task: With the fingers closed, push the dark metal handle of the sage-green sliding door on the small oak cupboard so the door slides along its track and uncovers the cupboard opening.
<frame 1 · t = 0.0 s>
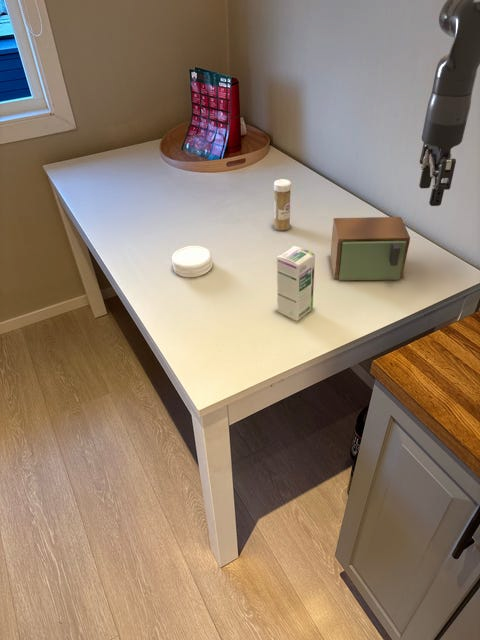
hand: (429, 196, 103), 21 cm above the table, tool pointing down, fingers open, 8 cm apart
white short cylinder: (193, 267, 123), on the table
syrup box: (294, 311, 108), on the table
cupboard: (364, 267, 120), on the table
sliding door: (372, 263, 111), point 6 cm above the table, slide at 0.0 cm
sprinkles bottle: (282, 227, 137), on the table
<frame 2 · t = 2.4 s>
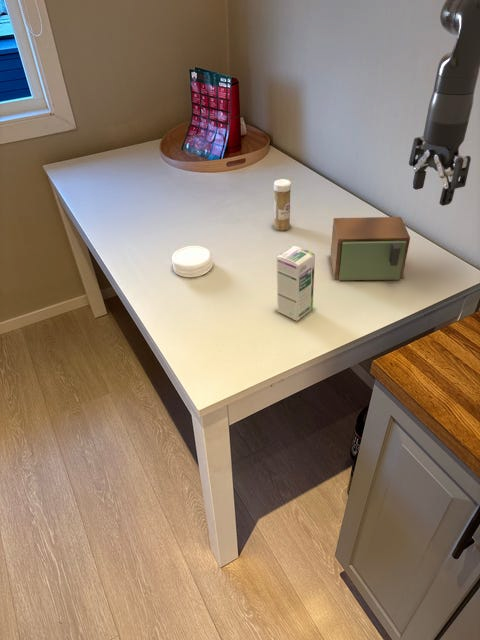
hand: (430, 196, 101), 21 cm above the table, tool pointing down, fingers open, 8 cm apart
nothing on the table moved.
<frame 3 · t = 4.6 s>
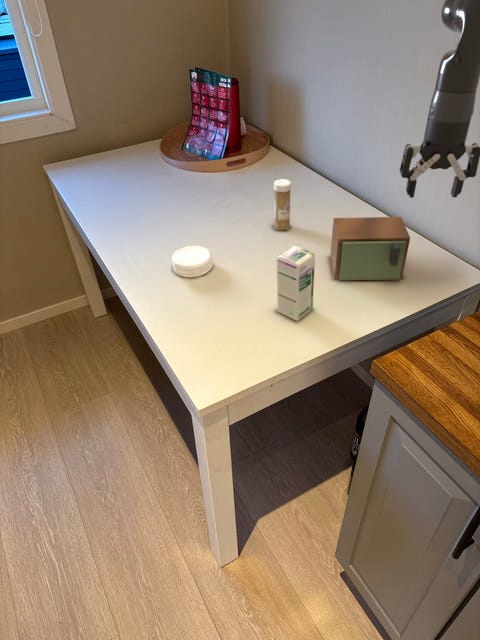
hand: (431, 196, 100), 22 cm above the table, tool pointing down, fingers open, 8 cm apart
nothing on the table moved.
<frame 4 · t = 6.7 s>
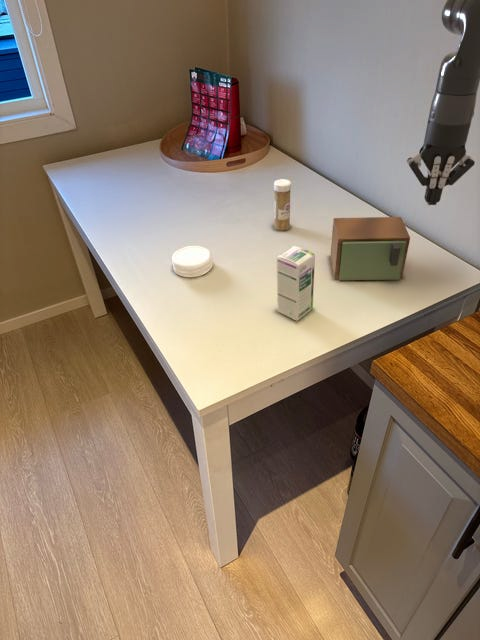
hand: (431, 203, 100), 20 cm above the table, tool pointing down, fingers closed
nothing on the table moved.
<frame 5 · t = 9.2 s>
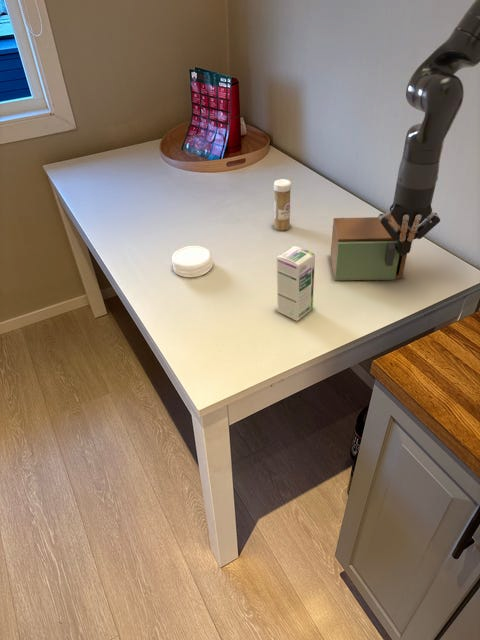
hand: (401, 253, 108), 8 cm above the table, tool pointing down, fingers closed
sliding door: (367, 263, 111), point 6 cm above the table, slide at 1.0 cm
everything else where it was.
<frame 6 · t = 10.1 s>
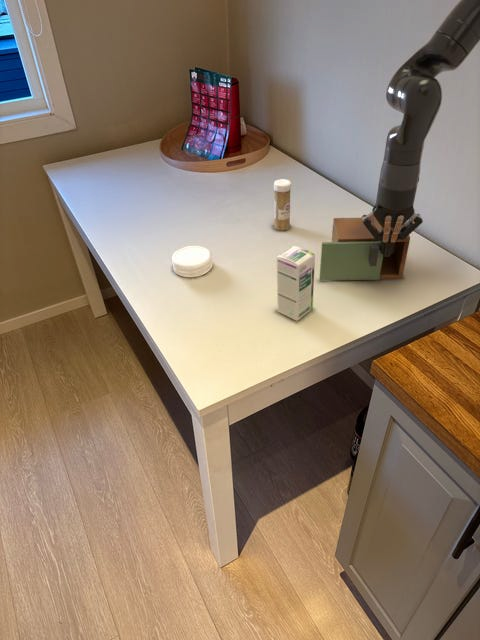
hand: (385, 254, 109), 8 cm above the table, tool pointing down, fingers closed
sliding door: (351, 264, 111), point 6 cm above the table, slide at 4.7 cm, touching gripper
everything else where it was.
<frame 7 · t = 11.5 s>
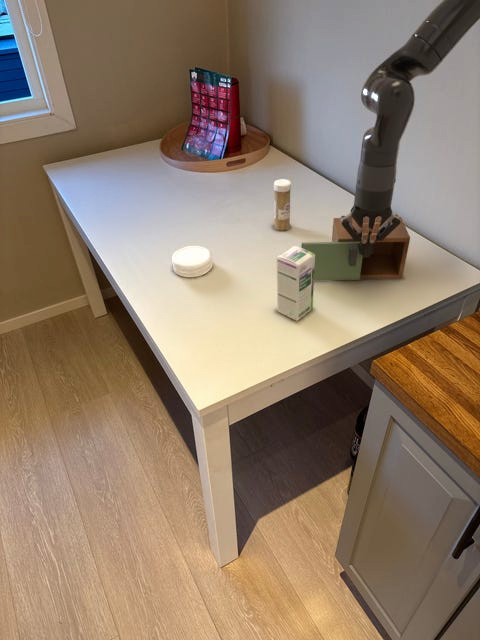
hand: (365, 255, 109), 8 cm above the table, tool pointing down, fingers closed
sliding door: (331, 264, 111), point 6 cm above the table, slide at 9.2 cm, touching gripper
everything else where it was.
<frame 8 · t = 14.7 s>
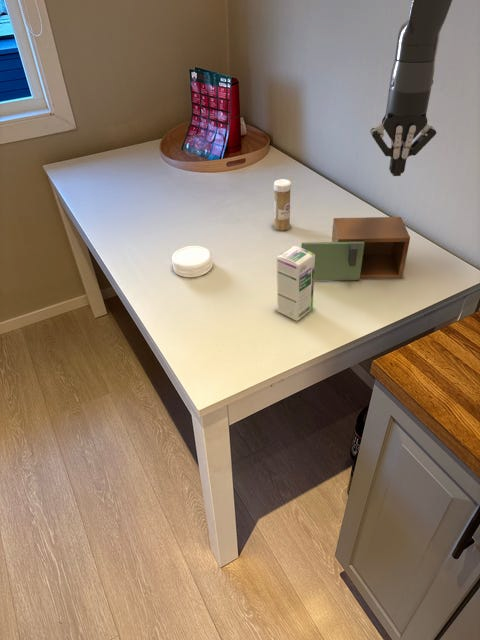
hand: (395, 174, 101), 25 cm above the table, tool pointing down, fingers closed
sliding door: (331, 264, 111), point 6 cm above the table, slide at 9.2 cm
everything else where it was.
at the end: sliding door slide at 9.2 cm; syrup box moved 0.2 cm from its start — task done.
